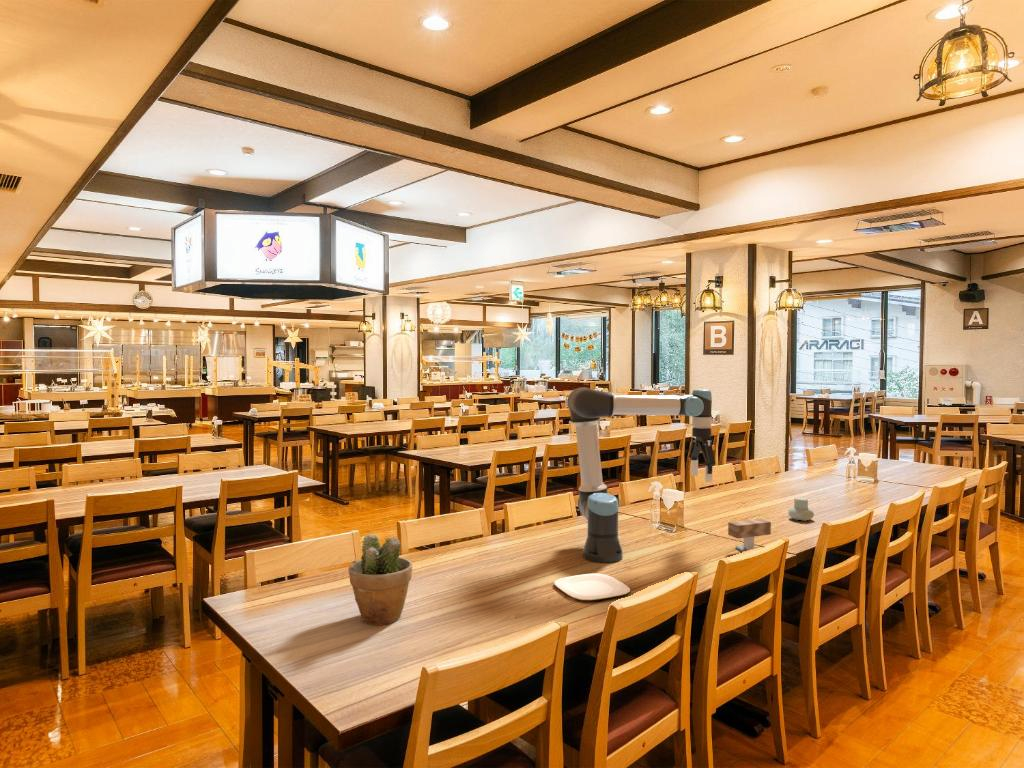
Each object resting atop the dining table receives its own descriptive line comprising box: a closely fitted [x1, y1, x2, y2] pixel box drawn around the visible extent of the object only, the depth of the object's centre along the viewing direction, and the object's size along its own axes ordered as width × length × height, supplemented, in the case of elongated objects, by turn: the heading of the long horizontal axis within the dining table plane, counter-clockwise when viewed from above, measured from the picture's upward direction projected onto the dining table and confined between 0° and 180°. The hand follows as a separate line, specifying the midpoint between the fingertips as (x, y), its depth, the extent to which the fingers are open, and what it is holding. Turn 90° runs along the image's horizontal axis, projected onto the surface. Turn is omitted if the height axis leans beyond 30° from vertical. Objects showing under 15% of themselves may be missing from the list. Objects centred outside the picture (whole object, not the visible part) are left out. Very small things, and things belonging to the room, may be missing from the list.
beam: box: [727, 518, 772, 539], centre depth 248 cm, size 16×6×5 cm, turn 110°
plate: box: [554, 573, 631, 602], centre depth 207 cm, size 22×22×2 cm
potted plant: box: [348, 534, 413, 626], centre depth 184 cm, size 18×19×25 cm
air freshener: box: [788, 497, 814, 522], centre depth 297 cm, size 11×8×10 cm
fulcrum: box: [735, 536, 757, 553], centre depth 248 cm, size 7×8×6 cm
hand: (701, 478), depth 258 cm, fingers open, 13 cm apart
